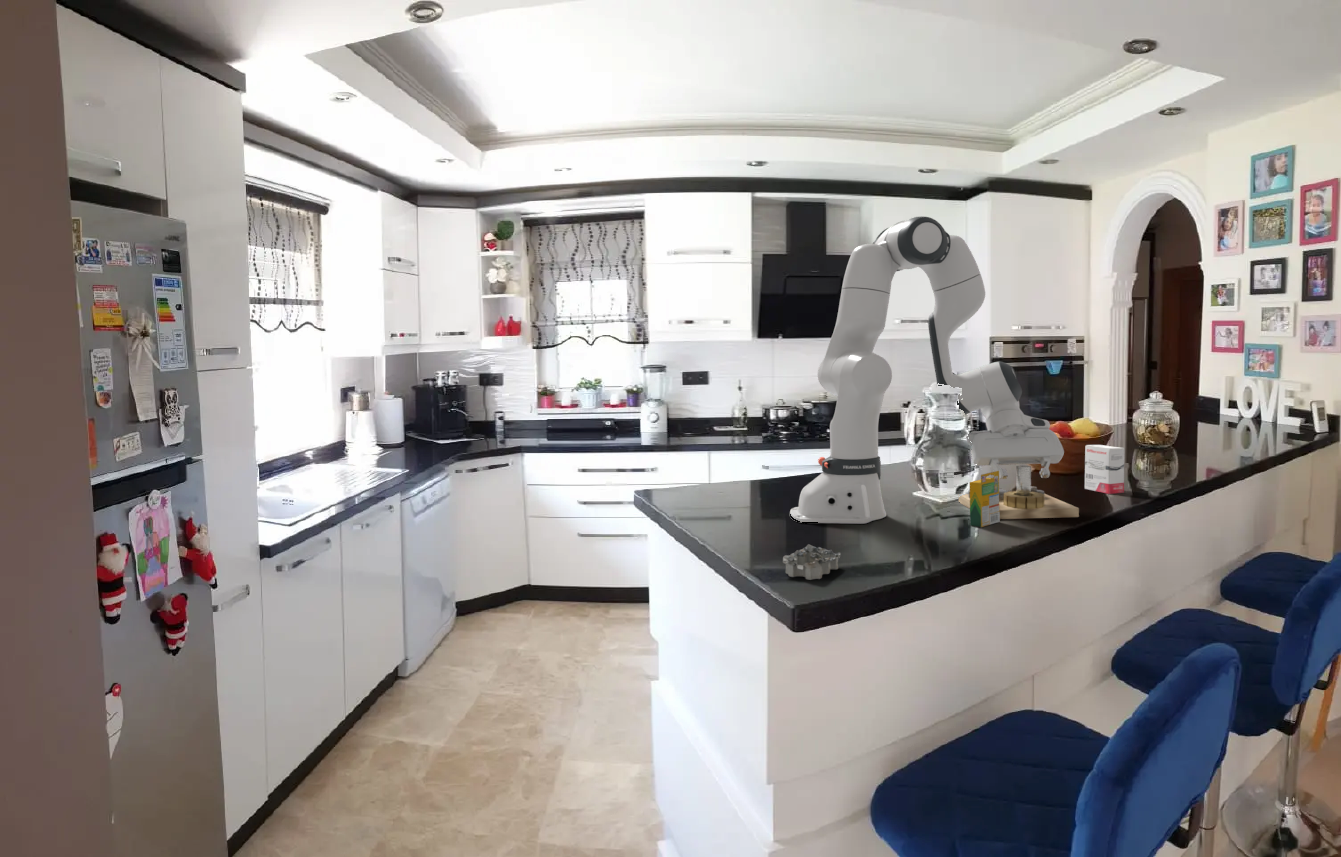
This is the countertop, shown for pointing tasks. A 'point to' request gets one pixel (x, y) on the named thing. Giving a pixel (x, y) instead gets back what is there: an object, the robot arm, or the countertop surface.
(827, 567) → the egg carton
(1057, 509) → the gear board
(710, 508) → the countertop surface
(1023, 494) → the input shaft
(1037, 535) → the countertop surface
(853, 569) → the countertop surface
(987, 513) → the crayon box
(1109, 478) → the ink box
